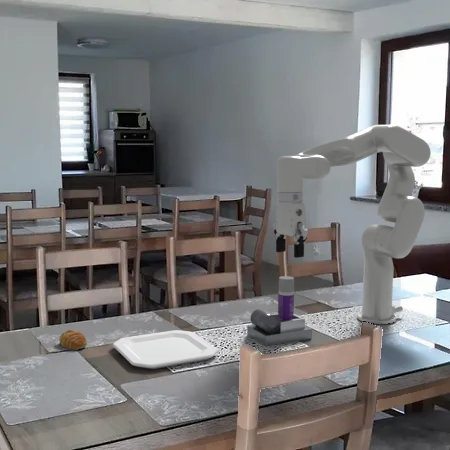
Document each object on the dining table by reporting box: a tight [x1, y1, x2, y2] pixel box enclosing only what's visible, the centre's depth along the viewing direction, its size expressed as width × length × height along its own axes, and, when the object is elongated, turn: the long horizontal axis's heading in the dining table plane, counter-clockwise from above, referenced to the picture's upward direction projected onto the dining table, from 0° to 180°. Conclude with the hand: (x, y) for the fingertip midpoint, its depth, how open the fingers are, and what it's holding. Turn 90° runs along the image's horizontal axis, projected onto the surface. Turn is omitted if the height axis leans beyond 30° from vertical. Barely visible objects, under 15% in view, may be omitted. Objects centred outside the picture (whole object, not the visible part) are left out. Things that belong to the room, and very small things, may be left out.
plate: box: [112, 329, 219, 370], centre depth 171 cm, size 25×25×2 cm
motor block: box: [246, 309, 313, 347], centre depth 184 cm, size 16×11×8 cm
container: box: [277, 275, 295, 321], centre depth 185 cm, size 5×5×15 cm
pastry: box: [58, 329, 88, 351], centre depth 176 cm, size 9×7×4 cm
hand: (289, 254), depth 185 cm, fingers open, 9 cm apart
